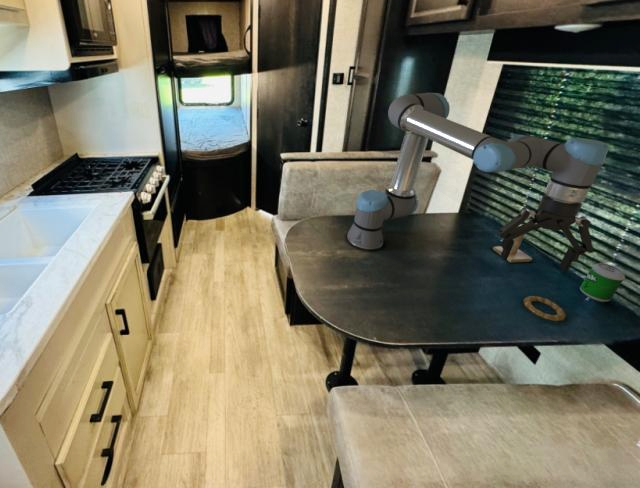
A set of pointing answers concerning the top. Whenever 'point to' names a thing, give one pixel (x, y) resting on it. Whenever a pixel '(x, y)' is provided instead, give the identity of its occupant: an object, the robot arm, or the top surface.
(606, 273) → the soda can
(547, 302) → the ring
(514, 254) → the rack
